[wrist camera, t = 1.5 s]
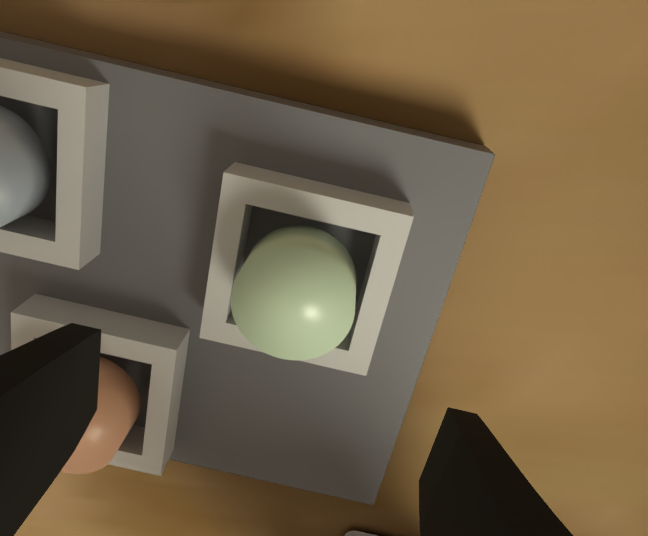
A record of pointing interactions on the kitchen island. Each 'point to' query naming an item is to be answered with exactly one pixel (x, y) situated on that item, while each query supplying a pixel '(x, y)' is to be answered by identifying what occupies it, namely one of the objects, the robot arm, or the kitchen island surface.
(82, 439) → the terracotta button
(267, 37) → the kitchen island surface
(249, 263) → the sage button
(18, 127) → the slate button
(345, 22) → the kitchen island surface
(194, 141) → the button panel
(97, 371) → the robot arm
